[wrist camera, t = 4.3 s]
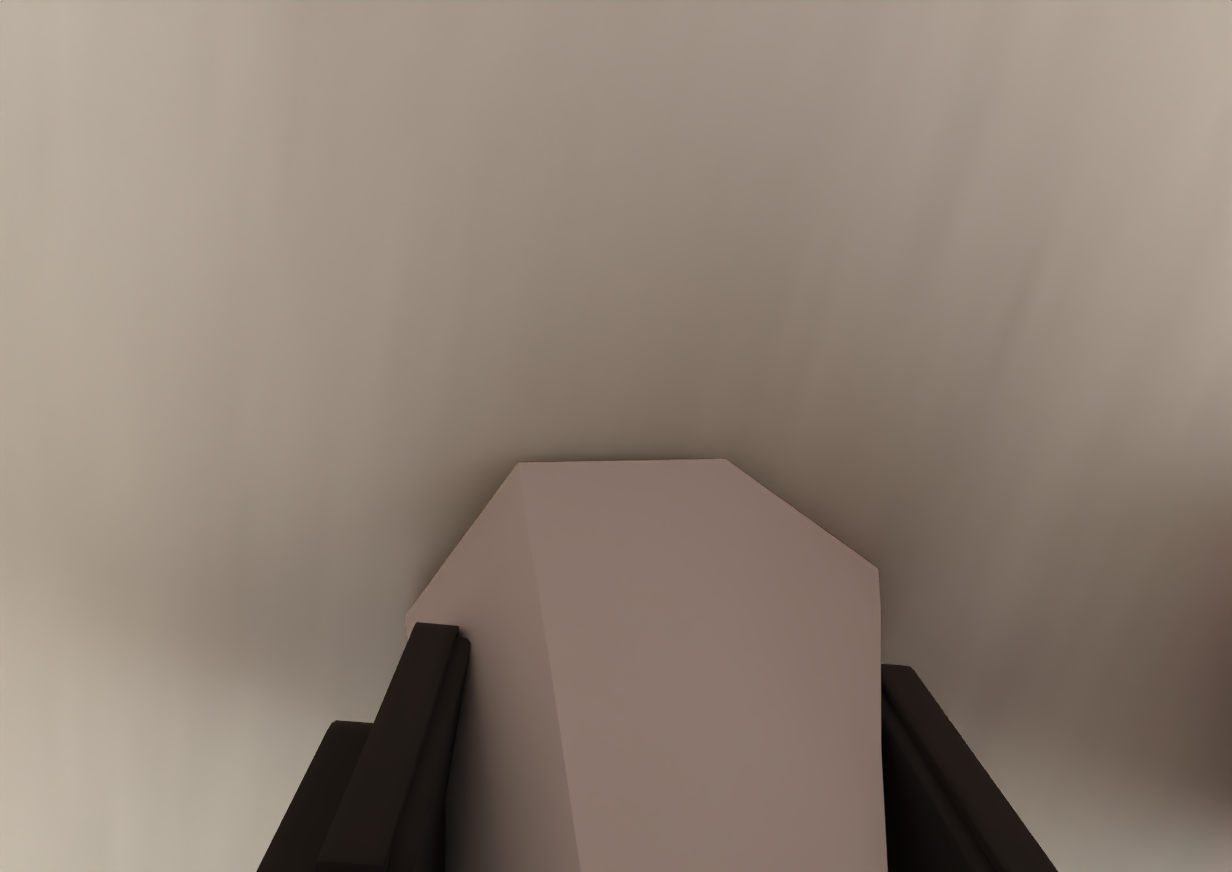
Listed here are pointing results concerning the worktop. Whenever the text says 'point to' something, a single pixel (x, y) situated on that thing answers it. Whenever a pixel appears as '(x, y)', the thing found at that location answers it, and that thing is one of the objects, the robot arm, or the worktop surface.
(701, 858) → the flask
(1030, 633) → the worktop surface
